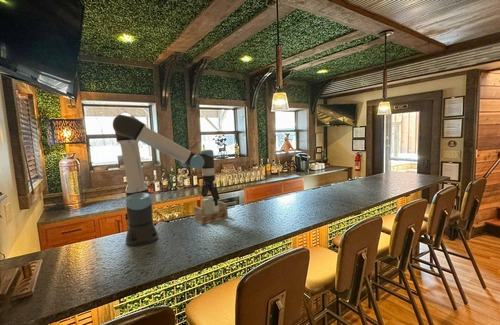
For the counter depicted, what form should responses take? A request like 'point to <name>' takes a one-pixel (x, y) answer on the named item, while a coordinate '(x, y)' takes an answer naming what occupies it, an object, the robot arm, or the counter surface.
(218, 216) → the track
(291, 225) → the counter surface
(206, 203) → the door panel
